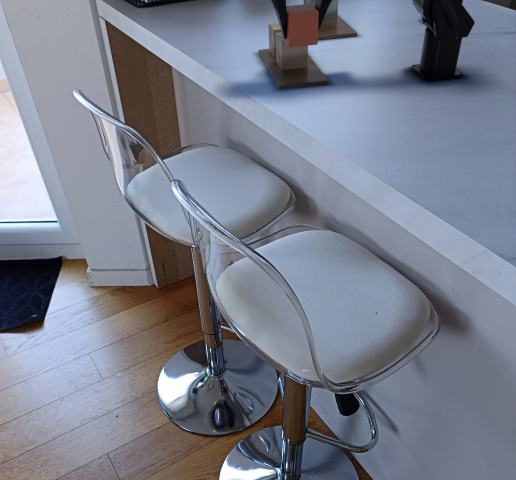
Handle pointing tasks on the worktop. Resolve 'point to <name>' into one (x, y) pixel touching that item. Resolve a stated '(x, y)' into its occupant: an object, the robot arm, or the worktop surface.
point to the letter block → (302, 25)
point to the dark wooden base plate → (333, 23)
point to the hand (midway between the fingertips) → (300, 36)
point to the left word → (290, 62)
